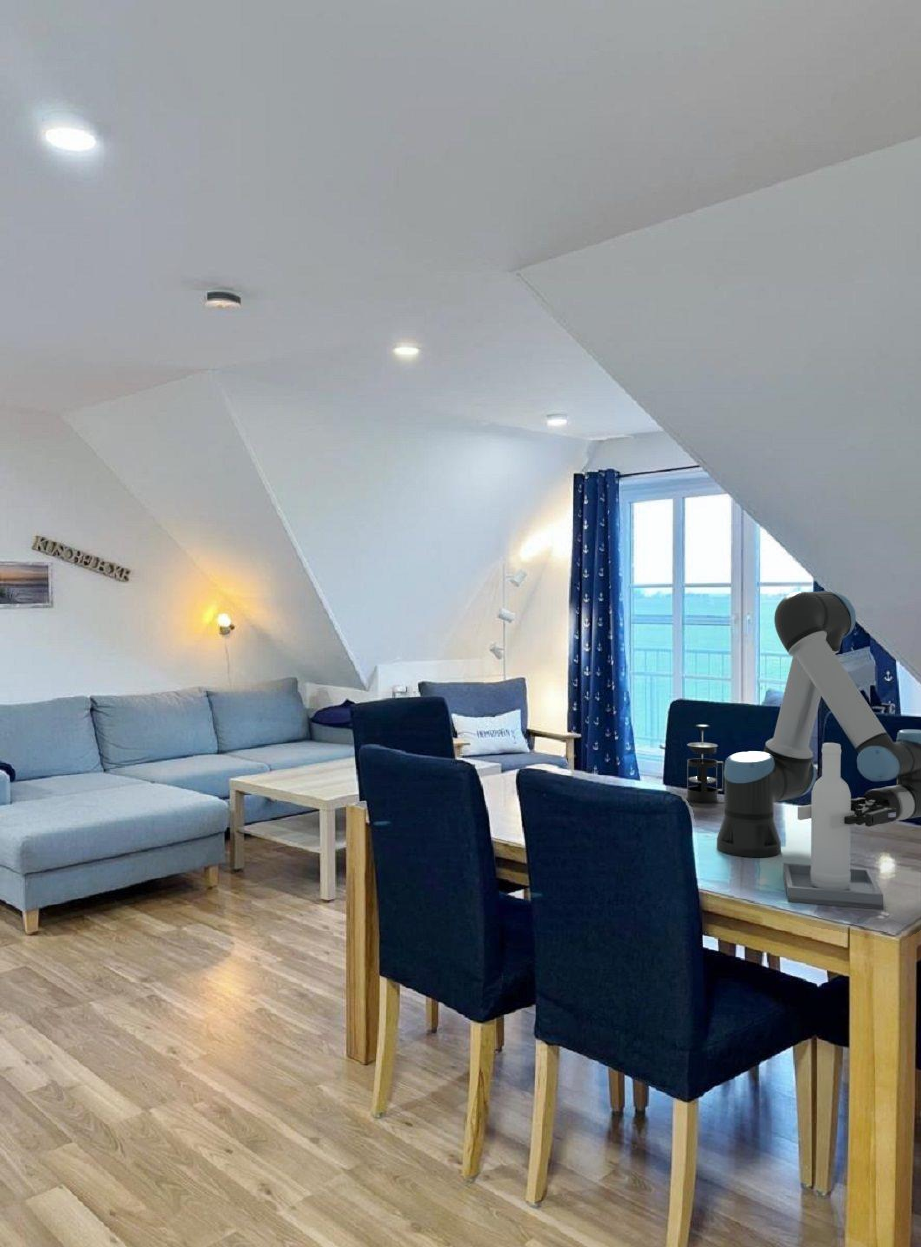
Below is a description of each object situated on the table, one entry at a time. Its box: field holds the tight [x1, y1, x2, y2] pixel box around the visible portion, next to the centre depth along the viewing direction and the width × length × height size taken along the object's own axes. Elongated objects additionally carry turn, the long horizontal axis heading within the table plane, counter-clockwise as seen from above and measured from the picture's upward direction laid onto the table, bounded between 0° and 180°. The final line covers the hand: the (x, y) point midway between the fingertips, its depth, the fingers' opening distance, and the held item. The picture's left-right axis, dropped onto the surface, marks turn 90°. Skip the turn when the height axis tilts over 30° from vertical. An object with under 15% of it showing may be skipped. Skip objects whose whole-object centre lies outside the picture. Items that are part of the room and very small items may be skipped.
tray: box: [782, 862, 884, 910], centre depth 201 cm, size 18×18×3 cm
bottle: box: [810, 742, 852, 890], centre depth 200 cm, size 8×8×30 cm
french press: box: [686, 724, 725, 804], centre depth 289 cm, size 12×9×23 cm
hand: (815, 817), depth 198 cm, fingers closed on bottle, 8 cm apart
